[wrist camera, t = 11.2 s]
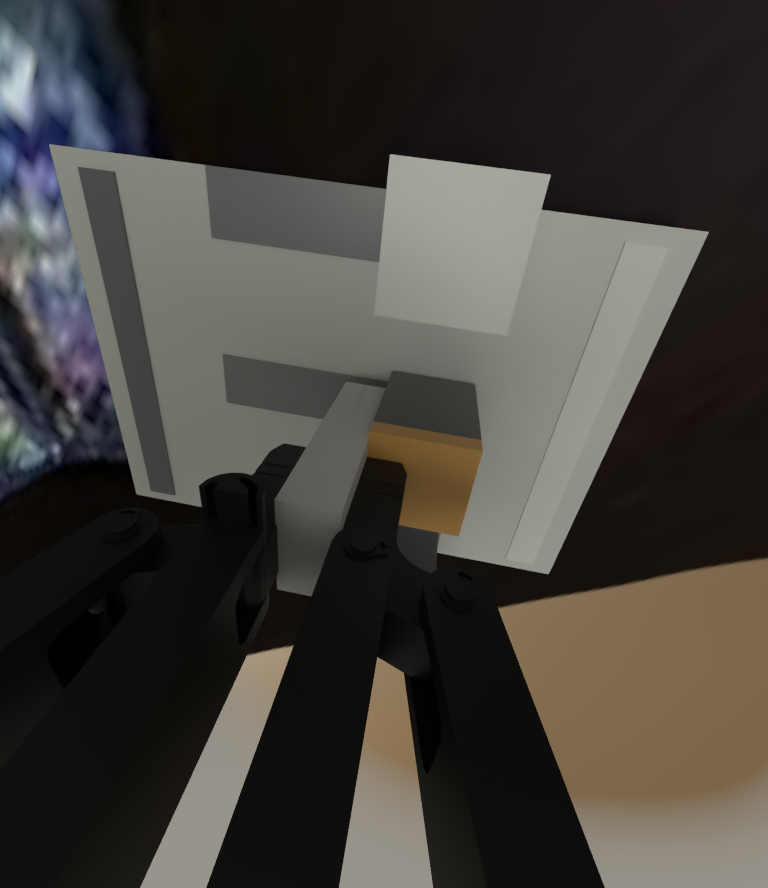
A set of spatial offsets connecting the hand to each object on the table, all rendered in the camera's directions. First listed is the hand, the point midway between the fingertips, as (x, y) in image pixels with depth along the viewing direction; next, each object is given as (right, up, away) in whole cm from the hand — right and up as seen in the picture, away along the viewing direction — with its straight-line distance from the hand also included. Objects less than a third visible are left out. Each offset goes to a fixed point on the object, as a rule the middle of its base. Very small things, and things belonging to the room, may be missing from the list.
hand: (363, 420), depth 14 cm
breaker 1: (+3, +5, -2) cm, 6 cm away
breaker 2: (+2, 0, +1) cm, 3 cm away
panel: (-1, +2, +3) cm, 4 cm away
